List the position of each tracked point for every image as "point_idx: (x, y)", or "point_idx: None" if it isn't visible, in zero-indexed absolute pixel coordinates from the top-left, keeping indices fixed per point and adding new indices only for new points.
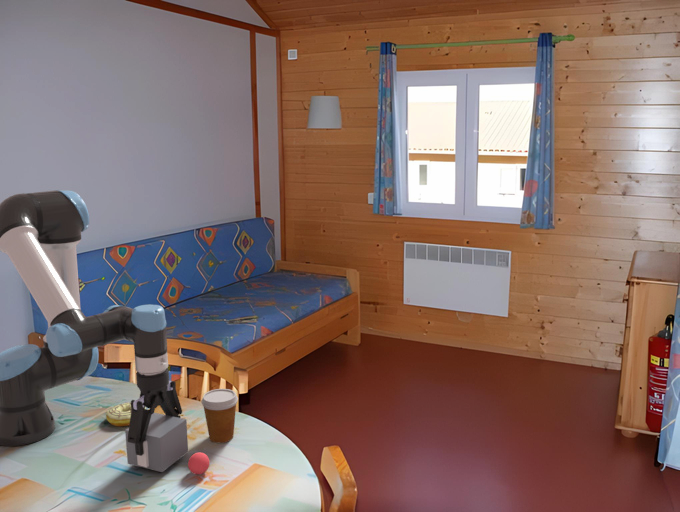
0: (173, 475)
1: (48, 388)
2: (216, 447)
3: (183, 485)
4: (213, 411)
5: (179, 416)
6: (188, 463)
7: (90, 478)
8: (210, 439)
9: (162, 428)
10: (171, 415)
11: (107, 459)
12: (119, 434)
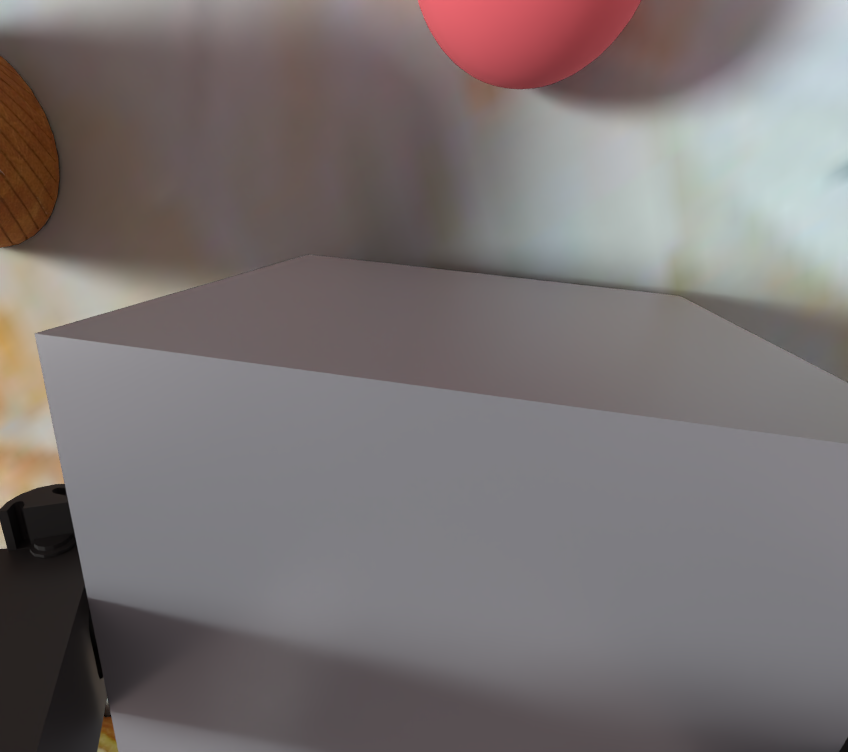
0: (608, 218)
1: None
2: (108, 96)
3: (762, 24)
4: None
5: (13, 517)
6: (607, 40)
7: None
8: (46, 207)
9: (538, 588)
10: (82, 634)
11: None
12: None
